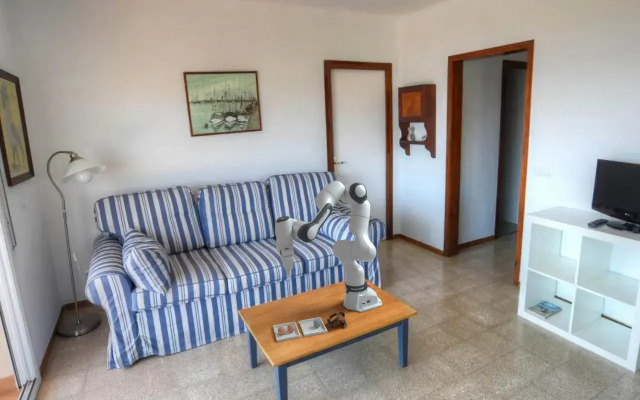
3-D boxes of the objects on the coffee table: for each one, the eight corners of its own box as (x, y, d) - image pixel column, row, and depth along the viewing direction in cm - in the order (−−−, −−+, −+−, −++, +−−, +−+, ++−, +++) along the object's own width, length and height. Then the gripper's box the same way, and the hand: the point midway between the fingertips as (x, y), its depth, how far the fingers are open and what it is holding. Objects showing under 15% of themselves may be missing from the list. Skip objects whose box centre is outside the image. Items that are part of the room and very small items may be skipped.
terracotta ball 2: (294, 328, 203) (293, 321, 202) (295, 332, 199) (295, 325, 198) (286, 330, 202) (286, 323, 201) (288, 334, 198) (287, 327, 197)
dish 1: (295, 324, 208) (295, 321, 207) (300, 338, 195) (300, 335, 194) (273, 328, 205) (272, 325, 205) (277, 343, 192) (276, 339, 191)
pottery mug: (345, 333, 198) (336, 321, 197) (331, 336, 204) (322, 324, 202) (352, 317, 208) (344, 305, 206) (339, 320, 213) (331, 309, 212)
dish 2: (320, 320, 211) (320, 317, 211) (327, 333, 198) (327, 330, 198) (298, 323, 208) (298, 320, 208) (304, 337, 195) (304, 334, 195)
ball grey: (320, 324, 206) (319, 317, 205) (322, 328, 202) (321, 321, 201) (312, 325, 205) (312, 318, 204) (314, 329, 201) (314, 322, 200)
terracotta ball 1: (284, 328, 201) (284, 324, 199) (286, 335, 198) (286, 330, 196) (277, 330, 200) (277, 325, 198) (278, 337, 197) (278, 332, 195)
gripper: (276, 241, 212) (277, 265, 215) (282, 254, 192) (284, 280, 195) (287, 240, 213) (289, 263, 216) (294, 252, 194) (296, 278, 197)
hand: (286, 271), depth 206 cm, fingers open, 8 cm apart
